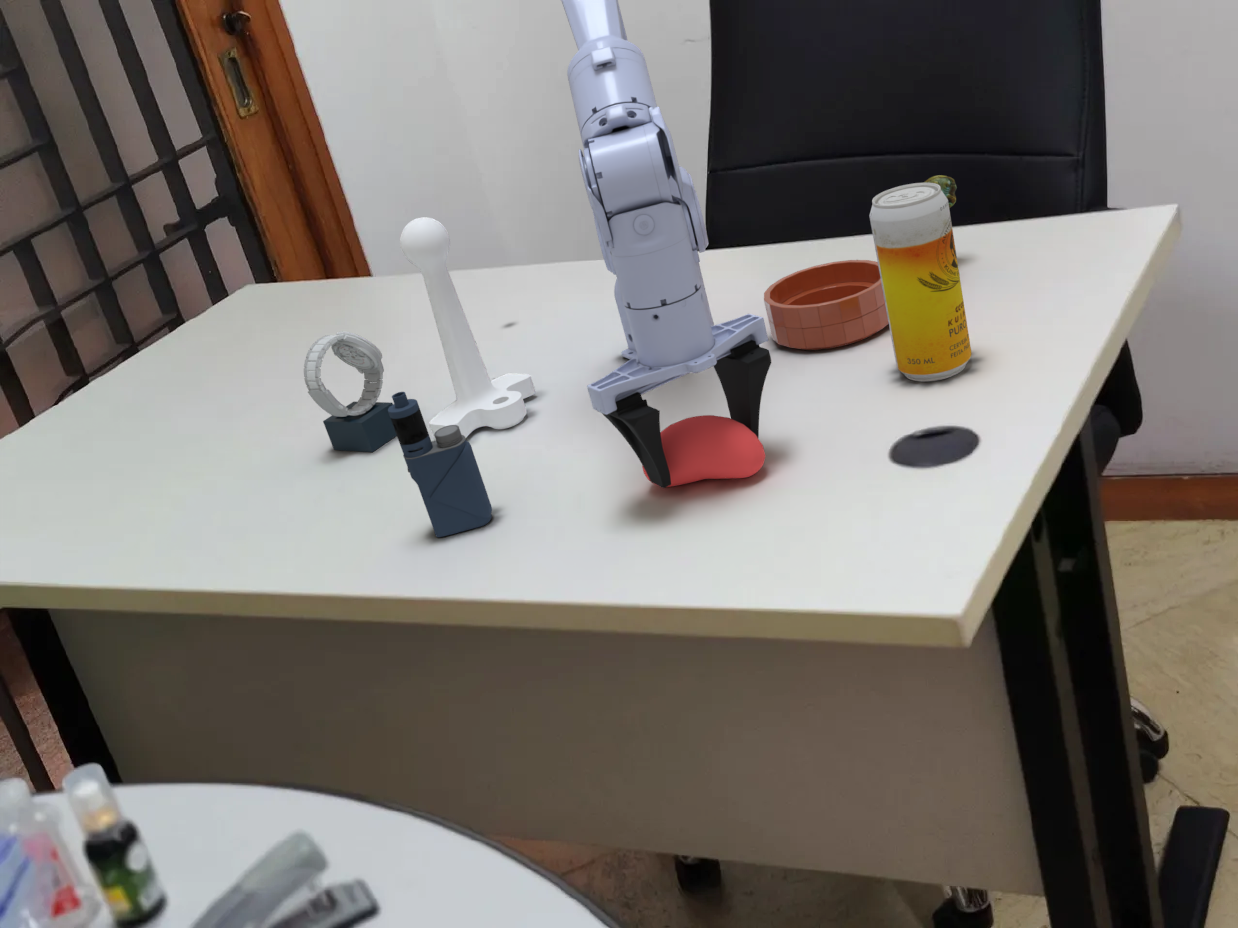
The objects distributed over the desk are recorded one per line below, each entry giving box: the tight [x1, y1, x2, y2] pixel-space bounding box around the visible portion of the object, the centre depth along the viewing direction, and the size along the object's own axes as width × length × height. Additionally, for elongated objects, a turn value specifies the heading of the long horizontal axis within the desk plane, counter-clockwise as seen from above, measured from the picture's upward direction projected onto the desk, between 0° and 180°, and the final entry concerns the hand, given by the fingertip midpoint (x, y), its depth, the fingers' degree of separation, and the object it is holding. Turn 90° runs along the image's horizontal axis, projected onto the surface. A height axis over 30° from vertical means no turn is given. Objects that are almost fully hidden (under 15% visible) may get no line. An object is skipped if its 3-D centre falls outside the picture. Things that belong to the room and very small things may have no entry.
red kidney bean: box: [641, 414, 766, 488], centre depth 98 cm, size 5×9×6 cm, turn 65°
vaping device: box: [388, 391, 493, 538], centre depth 100 cm, size 3×5×12 cm, turn 95°
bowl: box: [763, 259, 889, 351], centre depth 120 cm, size 12×12×4 cm
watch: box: [303, 330, 397, 453], centre depth 124 cm, size 6×8×11 cm
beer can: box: [868, 182, 973, 382], centre depth 104 cm, size 6×6×15 cm
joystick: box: [399, 216, 537, 441], centre depth 118 cm, size 11×8×20 cm
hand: (704, 461), depth 98 cm, fingers open, 7 cm apart
